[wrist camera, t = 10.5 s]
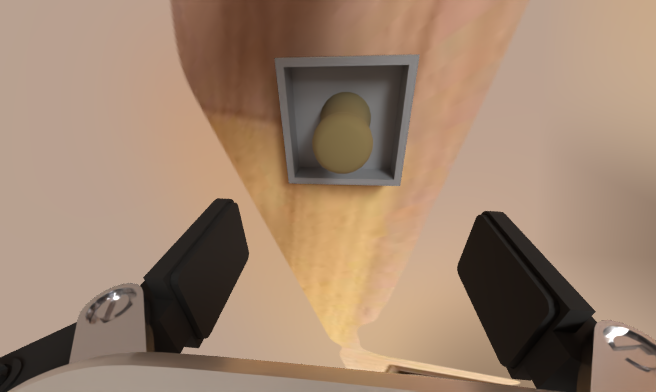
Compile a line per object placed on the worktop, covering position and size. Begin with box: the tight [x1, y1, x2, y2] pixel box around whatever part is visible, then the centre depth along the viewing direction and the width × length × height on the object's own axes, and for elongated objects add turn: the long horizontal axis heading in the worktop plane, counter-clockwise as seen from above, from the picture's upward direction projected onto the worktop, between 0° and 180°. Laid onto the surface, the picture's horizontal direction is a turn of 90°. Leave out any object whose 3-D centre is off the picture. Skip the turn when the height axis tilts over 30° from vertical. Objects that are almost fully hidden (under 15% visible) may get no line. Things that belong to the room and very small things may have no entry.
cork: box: [312, 92, 373, 174], centre depth 24 cm, size 6×6×11 cm
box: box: [275, 55, 419, 186], centre depth 28 cm, size 14×14×4 cm
